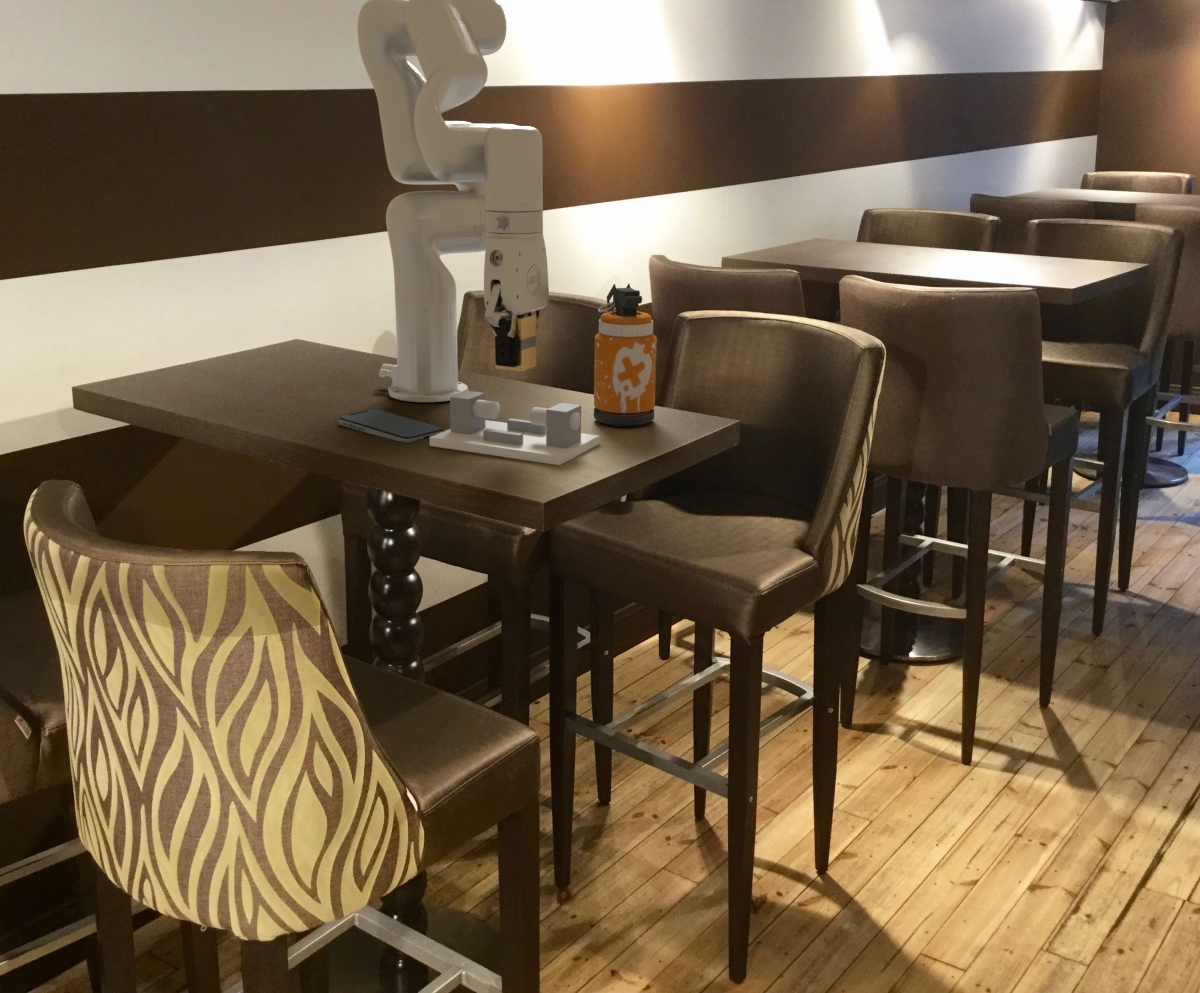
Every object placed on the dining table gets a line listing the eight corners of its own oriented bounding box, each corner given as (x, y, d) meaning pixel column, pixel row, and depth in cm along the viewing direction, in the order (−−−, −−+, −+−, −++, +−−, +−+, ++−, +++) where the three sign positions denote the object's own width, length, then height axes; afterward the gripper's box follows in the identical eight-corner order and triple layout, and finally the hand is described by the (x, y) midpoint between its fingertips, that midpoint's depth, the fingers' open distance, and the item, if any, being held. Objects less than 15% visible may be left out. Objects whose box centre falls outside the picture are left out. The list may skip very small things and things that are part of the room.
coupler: (521, 371, 169) (521, 312, 167) (495, 368, 171) (494, 310, 169) (536, 366, 173) (535, 308, 171) (510, 363, 174) (509, 306, 172)
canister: (602, 430, 184) (605, 291, 178) (583, 412, 194) (585, 280, 188) (661, 427, 186) (666, 290, 180) (639, 409, 196) (643, 279, 190)
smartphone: (406, 438, 175) (335, 416, 184) (406, 449, 176) (335, 427, 185) (446, 428, 181) (375, 407, 190) (446, 439, 181) (375, 418, 190)
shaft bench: (429, 445, 174) (428, 401, 173) (474, 426, 185) (474, 384, 183) (559, 465, 166) (559, 419, 164) (599, 444, 177) (600, 400, 175)
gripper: (507, 230, 158) (509, 376, 163) (568, 221, 172) (568, 355, 177) (455, 228, 161) (459, 371, 166) (520, 219, 175) (521, 350, 180)
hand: (515, 361), depth 172 cm, fingers closed on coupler, 4 cm apart
